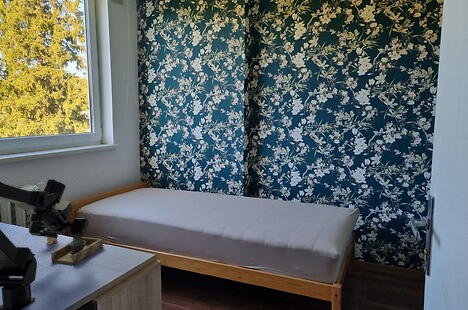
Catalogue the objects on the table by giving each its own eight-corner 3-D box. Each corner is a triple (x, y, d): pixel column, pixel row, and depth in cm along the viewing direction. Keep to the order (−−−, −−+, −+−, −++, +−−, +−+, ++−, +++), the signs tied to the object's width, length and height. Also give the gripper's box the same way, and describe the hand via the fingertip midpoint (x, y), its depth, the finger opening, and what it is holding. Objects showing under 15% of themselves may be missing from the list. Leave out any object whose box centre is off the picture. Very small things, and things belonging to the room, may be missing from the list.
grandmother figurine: (55, 239, 147) (53, 210, 145) (62, 240, 146) (60, 211, 144) (39, 246, 140) (37, 215, 138) (46, 247, 139) (44, 216, 137)
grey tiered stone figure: (66, 252, 132) (64, 221, 130) (82, 247, 136) (80, 217, 134) (74, 256, 128) (71, 225, 126) (89, 251, 132) (87, 221, 131)
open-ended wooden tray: (75, 264, 123) (75, 255, 123) (51, 261, 126) (51, 252, 125) (103, 247, 139) (102, 239, 138) (81, 245, 141) (80, 236, 141)
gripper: (85, 195, 118) (101, 217, 130) (32, 194, 119) (52, 216, 131) (74, 225, 111) (92, 246, 123) (17, 223, 112) (41, 244, 124)
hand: (69, 237), depth 126 cm, fingers open, 9 cm apart
